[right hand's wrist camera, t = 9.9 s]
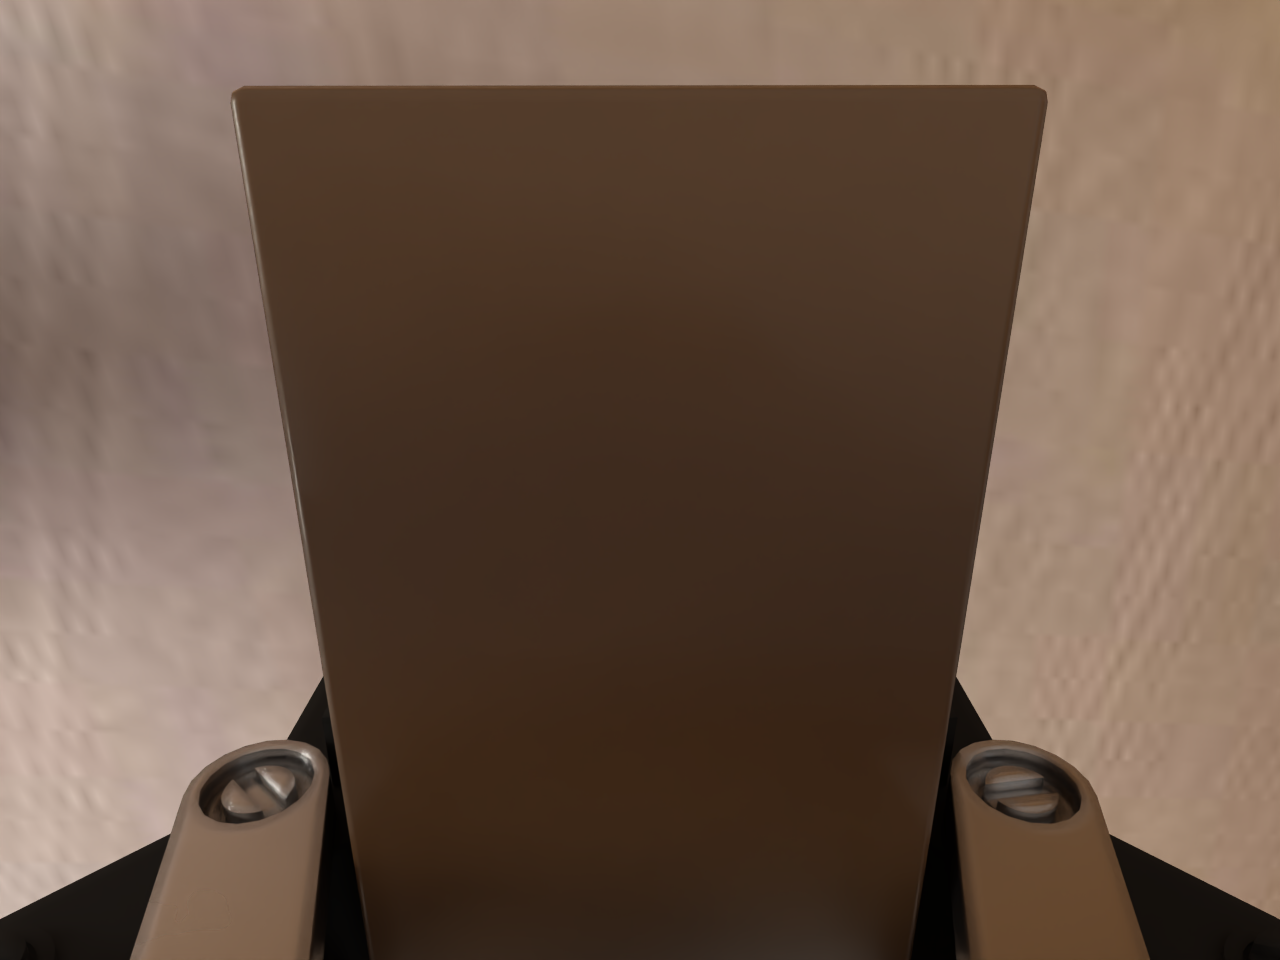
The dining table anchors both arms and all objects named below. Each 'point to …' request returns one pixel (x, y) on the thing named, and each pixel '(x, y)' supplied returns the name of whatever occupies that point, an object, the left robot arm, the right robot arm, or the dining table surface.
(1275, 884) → the dining table surface
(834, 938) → the beam
